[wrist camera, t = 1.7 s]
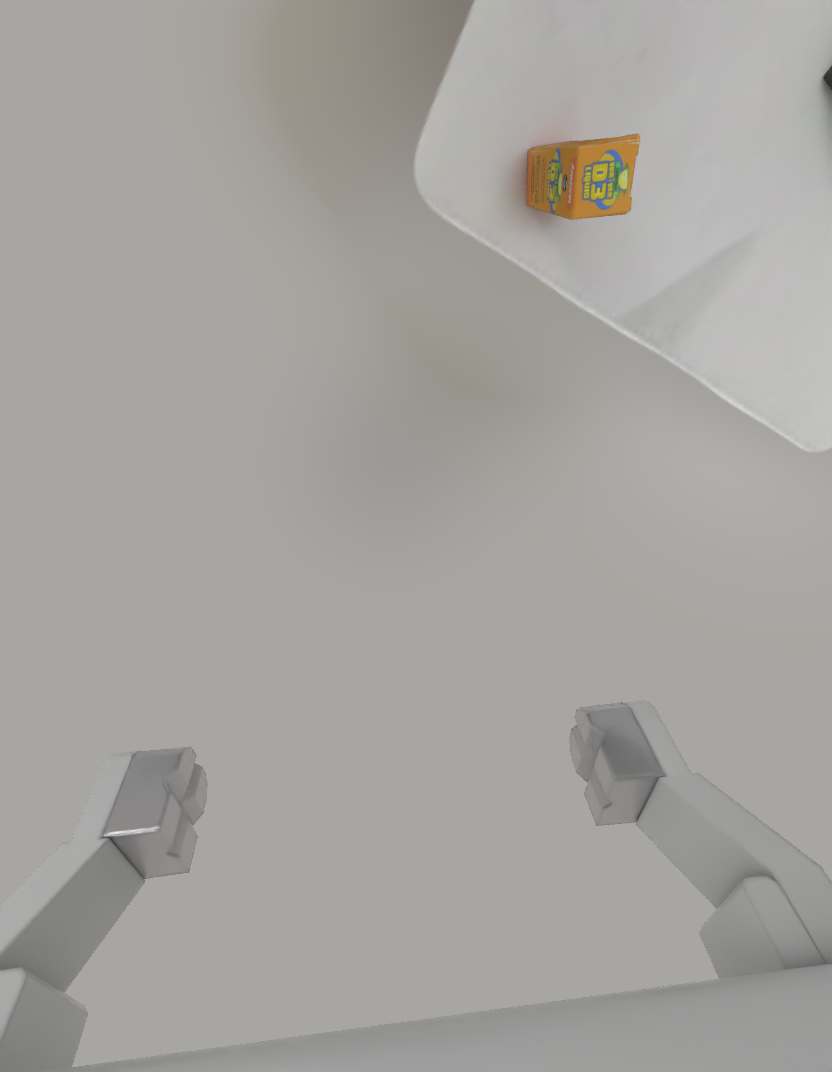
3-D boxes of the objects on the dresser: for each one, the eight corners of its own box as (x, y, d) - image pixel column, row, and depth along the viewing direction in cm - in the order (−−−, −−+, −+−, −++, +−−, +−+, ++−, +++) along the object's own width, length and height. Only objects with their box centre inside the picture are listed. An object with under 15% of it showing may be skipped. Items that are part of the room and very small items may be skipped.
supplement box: (522, 146, 32) (579, 139, 24) (576, 140, 32) (650, 130, 24) (521, 209, 34) (572, 221, 26) (571, 203, 34) (638, 213, 26)
